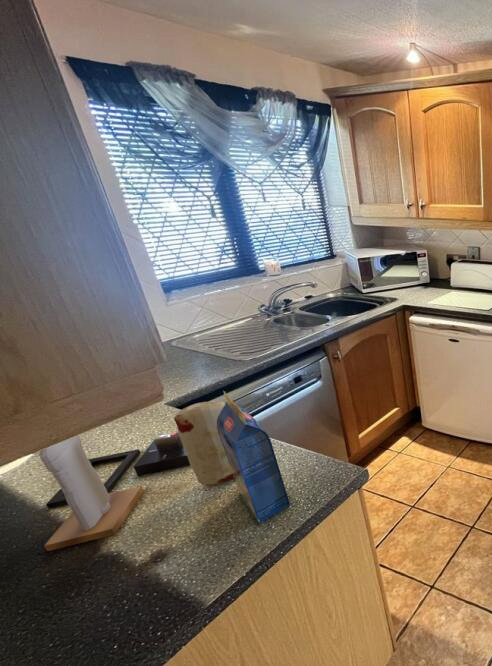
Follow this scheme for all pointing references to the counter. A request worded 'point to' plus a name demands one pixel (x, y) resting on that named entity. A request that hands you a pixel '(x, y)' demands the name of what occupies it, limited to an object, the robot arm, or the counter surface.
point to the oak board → (104, 527)
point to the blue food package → (252, 461)
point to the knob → (168, 441)
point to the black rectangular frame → (111, 482)
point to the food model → (204, 442)
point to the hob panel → (160, 460)
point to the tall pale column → (77, 481)
